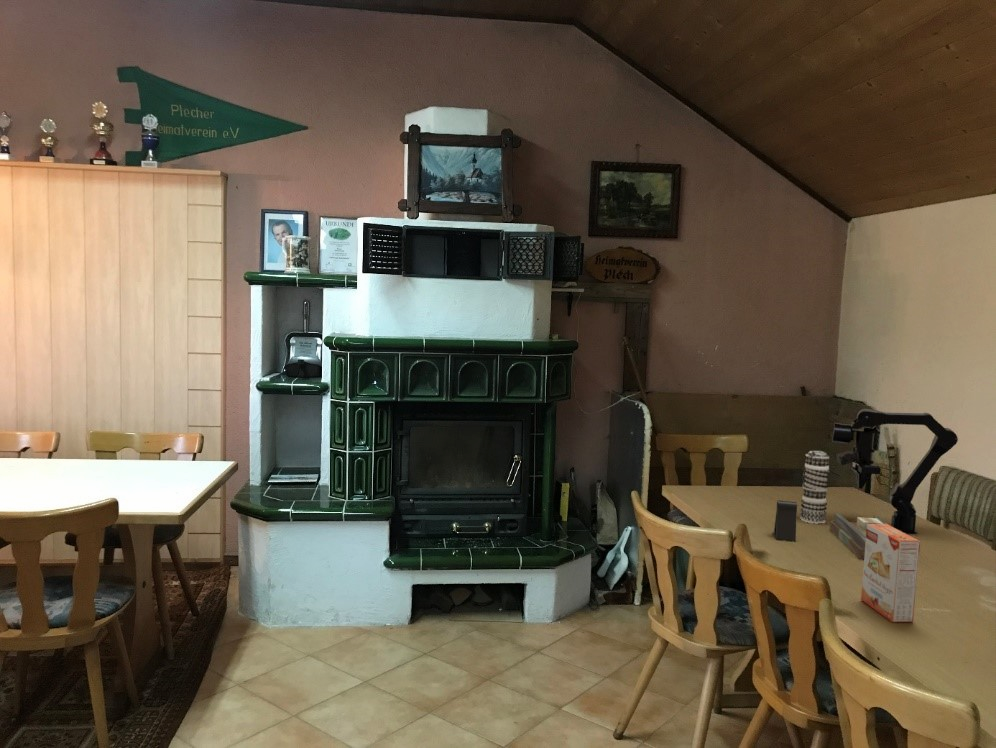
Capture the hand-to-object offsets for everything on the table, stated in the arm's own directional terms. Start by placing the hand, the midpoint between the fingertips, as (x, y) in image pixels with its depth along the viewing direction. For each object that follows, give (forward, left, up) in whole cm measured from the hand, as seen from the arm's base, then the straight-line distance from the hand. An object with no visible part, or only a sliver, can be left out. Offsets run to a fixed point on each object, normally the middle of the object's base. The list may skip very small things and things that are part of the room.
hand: (860, 488), depth 270 cm
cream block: (+4, +24, -10) cm, 26 cm away
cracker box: (+19, +81, -13) cm, 84 cm away
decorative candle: (+15, -1, -13) cm, 20 cm away
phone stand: (+30, +22, -13) cm, 39 cm away
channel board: (+4, +24, -13) cm, 28 cm away
